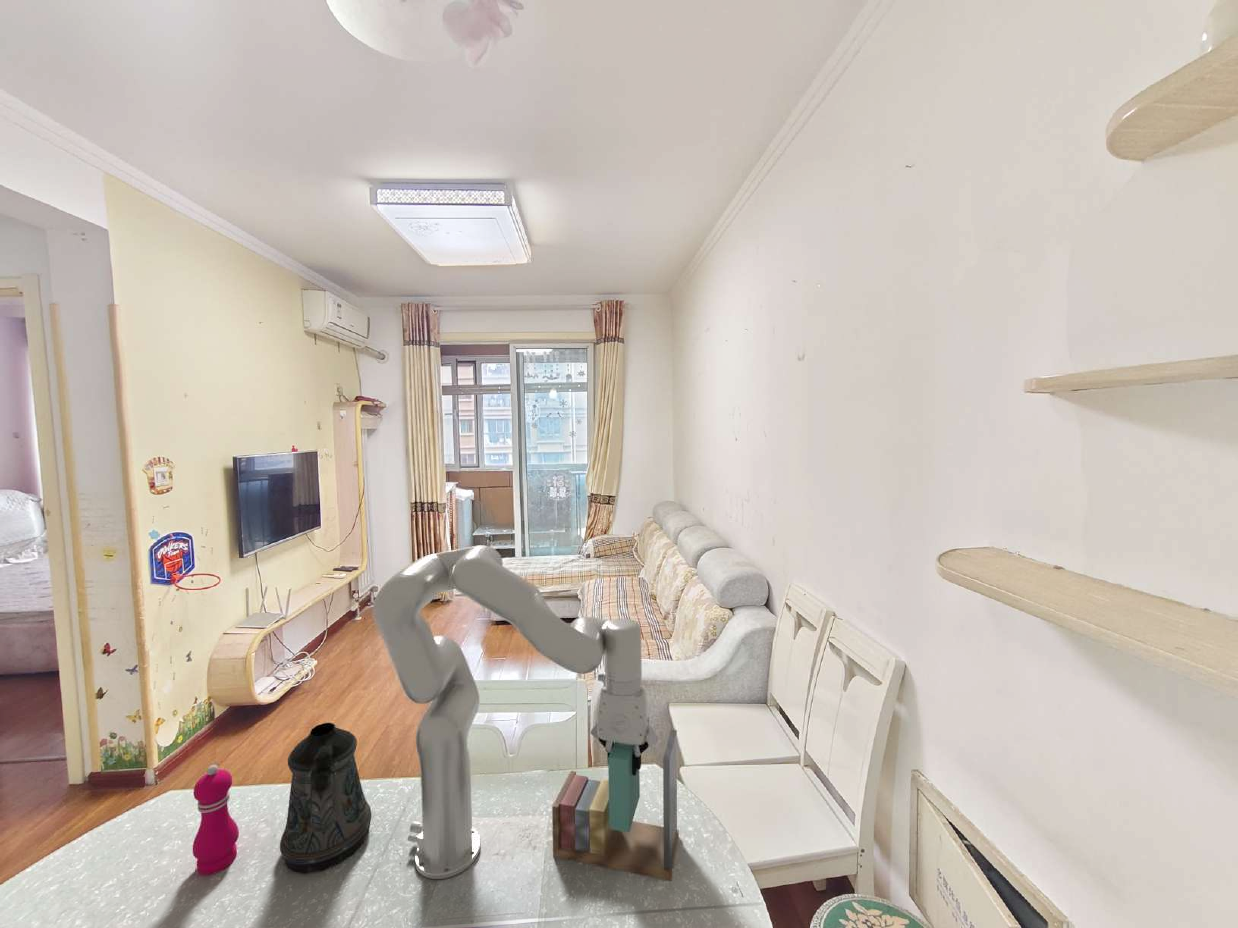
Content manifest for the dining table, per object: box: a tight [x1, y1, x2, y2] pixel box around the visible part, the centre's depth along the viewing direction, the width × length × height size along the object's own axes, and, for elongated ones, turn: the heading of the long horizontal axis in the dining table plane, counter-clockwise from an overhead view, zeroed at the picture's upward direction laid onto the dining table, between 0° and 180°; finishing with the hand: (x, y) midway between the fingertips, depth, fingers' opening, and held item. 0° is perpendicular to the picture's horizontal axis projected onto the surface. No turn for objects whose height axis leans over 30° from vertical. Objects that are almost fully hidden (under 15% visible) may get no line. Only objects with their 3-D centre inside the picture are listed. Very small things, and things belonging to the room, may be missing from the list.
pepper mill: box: [192, 764, 240, 876], centre depth 100 cm, size 7×7×20 cm
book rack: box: [551, 770, 680, 882], centre depth 103 cm, size 24×11×10 cm, turn 76°
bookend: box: [662, 728, 678, 870], centre depth 100 cm, size 1×10×22 cm, turn 166°
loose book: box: [607, 742, 641, 832], centre depth 103 cm, size 4×10×14 cm, turn 166°
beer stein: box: [279, 722, 372, 875], centre depth 104 cm, size 16×19×25 cm
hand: (624, 768), depth 102 cm, fingers closed on loose book, 4 cm apart
